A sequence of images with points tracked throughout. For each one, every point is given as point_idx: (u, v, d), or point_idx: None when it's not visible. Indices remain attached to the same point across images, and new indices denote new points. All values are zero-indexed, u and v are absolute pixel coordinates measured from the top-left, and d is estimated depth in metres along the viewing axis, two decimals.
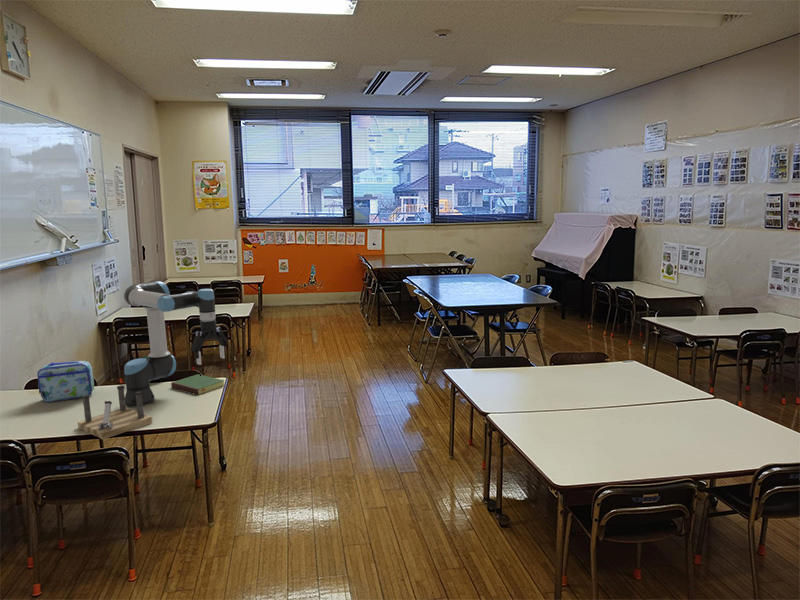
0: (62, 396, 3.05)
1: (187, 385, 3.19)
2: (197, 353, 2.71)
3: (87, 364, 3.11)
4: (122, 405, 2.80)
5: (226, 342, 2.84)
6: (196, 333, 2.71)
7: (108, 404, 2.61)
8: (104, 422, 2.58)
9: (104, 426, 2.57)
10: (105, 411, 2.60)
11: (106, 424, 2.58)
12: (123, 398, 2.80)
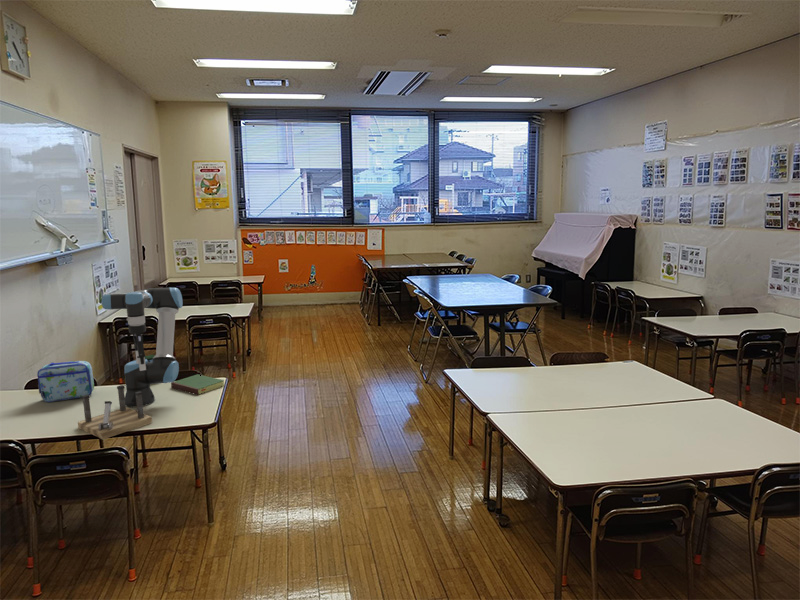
0: (62, 396, 3.05)
1: (187, 385, 3.19)
2: None
3: (87, 364, 3.11)
4: (122, 405, 2.80)
5: (139, 355, 2.60)
6: None
7: (108, 404, 2.61)
8: (104, 422, 2.58)
9: (104, 426, 2.57)
10: (105, 411, 2.60)
11: (106, 424, 2.58)
12: (123, 398, 2.80)
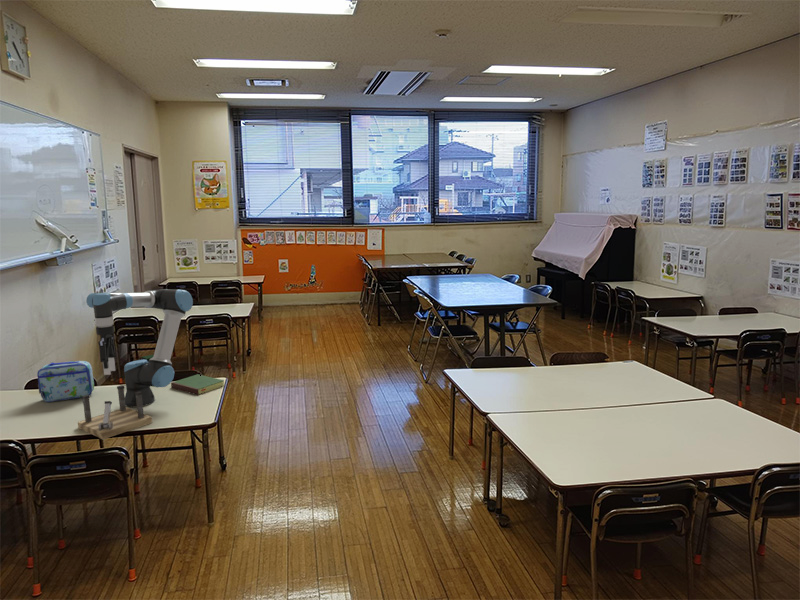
0: (62, 396, 3.05)
1: (187, 385, 3.19)
2: None
3: (87, 364, 3.11)
4: (122, 405, 2.80)
5: None
6: None
7: (108, 404, 2.61)
8: (104, 422, 2.58)
9: (104, 426, 2.57)
10: (105, 411, 2.60)
11: (106, 424, 2.58)
12: (123, 398, 2.80)
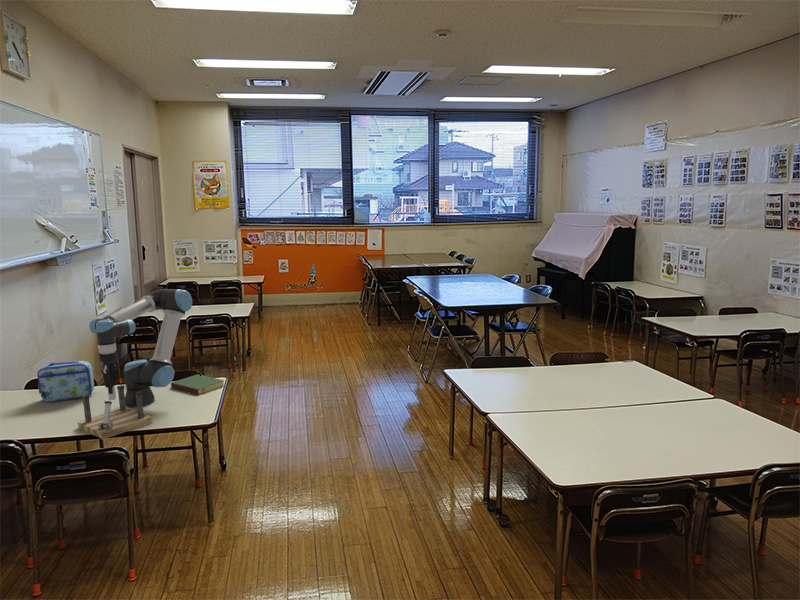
0: (62, 396, 3.05)
1: (187, 385, 3.19)
2: None
3: (87, 364, 3.11)
4: (122, 405, 2.80)
5: None
6: None
7: (108, 404, 2.61)
8: (104, 422, 2.58)
9: (104, 426, 2.57)
10: (105, 411, 2.60)
11: (106, 424, 2.58)
12: (123, 398, 2.80)
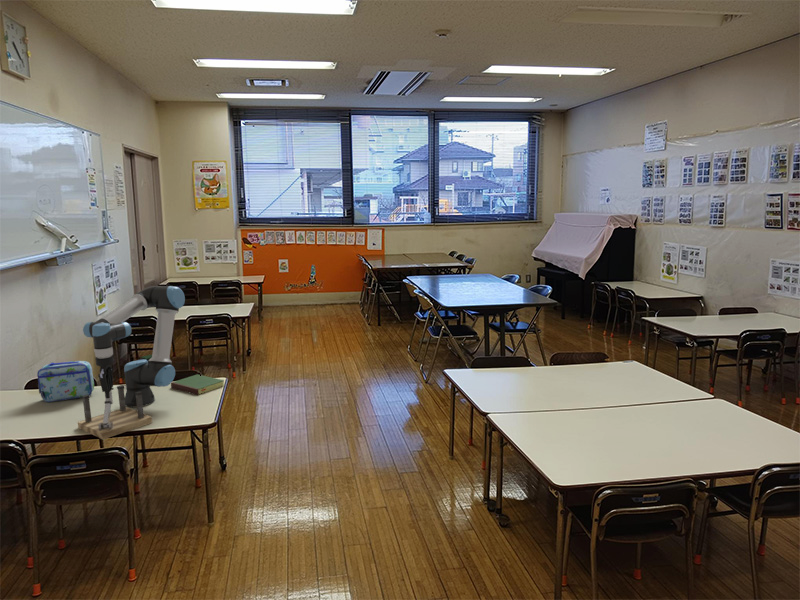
0: (62, 396, 3.05)
1: (187, 385, 3.19)
2: None
3: (87, 364, 3.11)
4: (122, 405, 2.80)
5: None
6: None
7: (108, 404, 2.61)
8: (104, 422, 2.58)
9: (104, 426, 2.57)
10: (105, 411, 2.60)
11: (106, 424, 2.58)
12: (123, 398, 2.80)
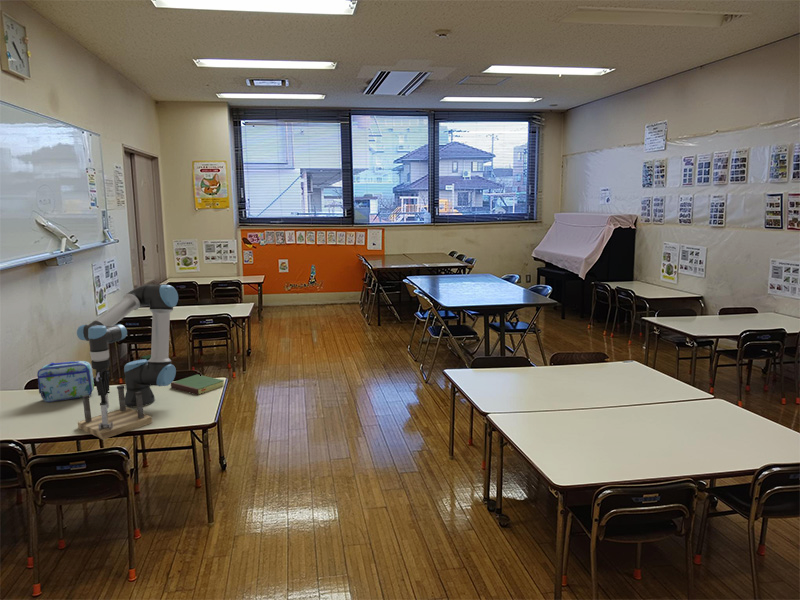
0: (62, 396, 3.05)
1: (187, 385, 3.19)
2: None
3: (87, 364, 3.11)
4: (122, 405, 2.80)
5: None
6: None
7: (104, 406, 2.56)
8: (103, 423, 2.57)
9: (104, 427, 2.57)
10: (102, 413, 2.56)
11: (106, 425, 2.57)
12: (123, 398, 2.80)
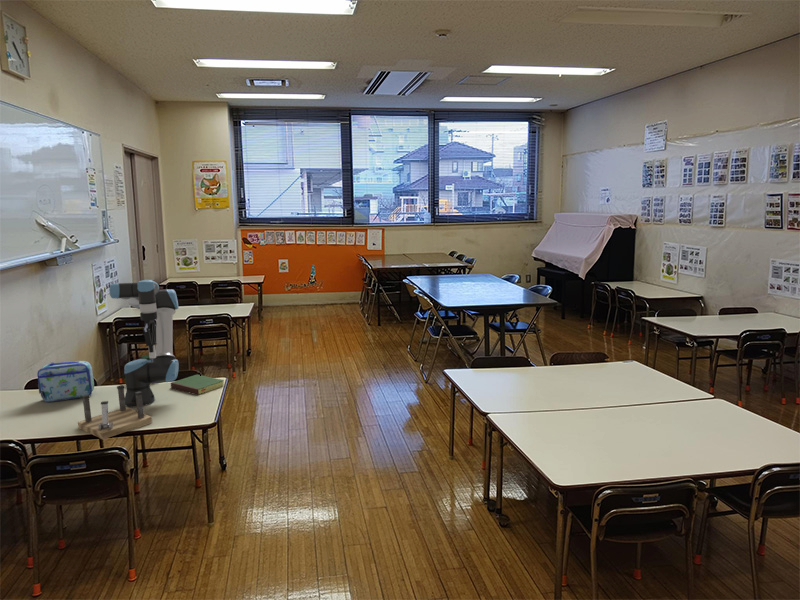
0: (62, 396, 3.05)
1: (187, 385, 3.19)
2: None
3: (87, 364, 3.11)
4: (122, 405, 2.80)
5: None
6: None
7: (105, 405, 2.57)
8: (103, 423, 2.57)
9: (104, 427, 2.57)
10: (103, 412, 2.57)
11: (106, 425, 2.57)
12: (123, 398, 2.80)
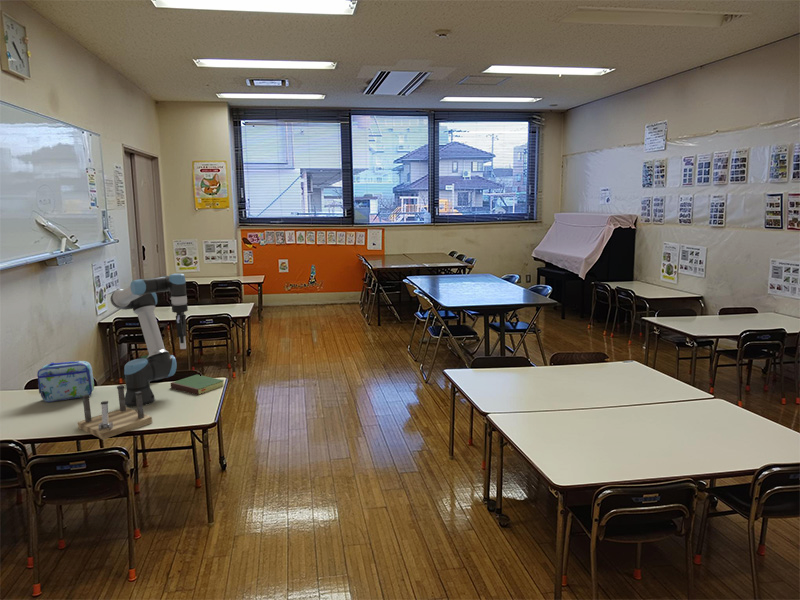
0: (62, 396, 3.05)
1: (187, 385, 3.19)
2: None
3: (87, 364, 3.11)
4: (122, 405, 2.80)
5: (178, 334, 2.82)
6: None
7: (105, 405, 2.57)
8: (103, 423, 2.57)
9: (104, 427, 2.57)
10: (103, 412, 2.57)
11: (106, 425, 2.57)
12: (123, 398, 2.80)
